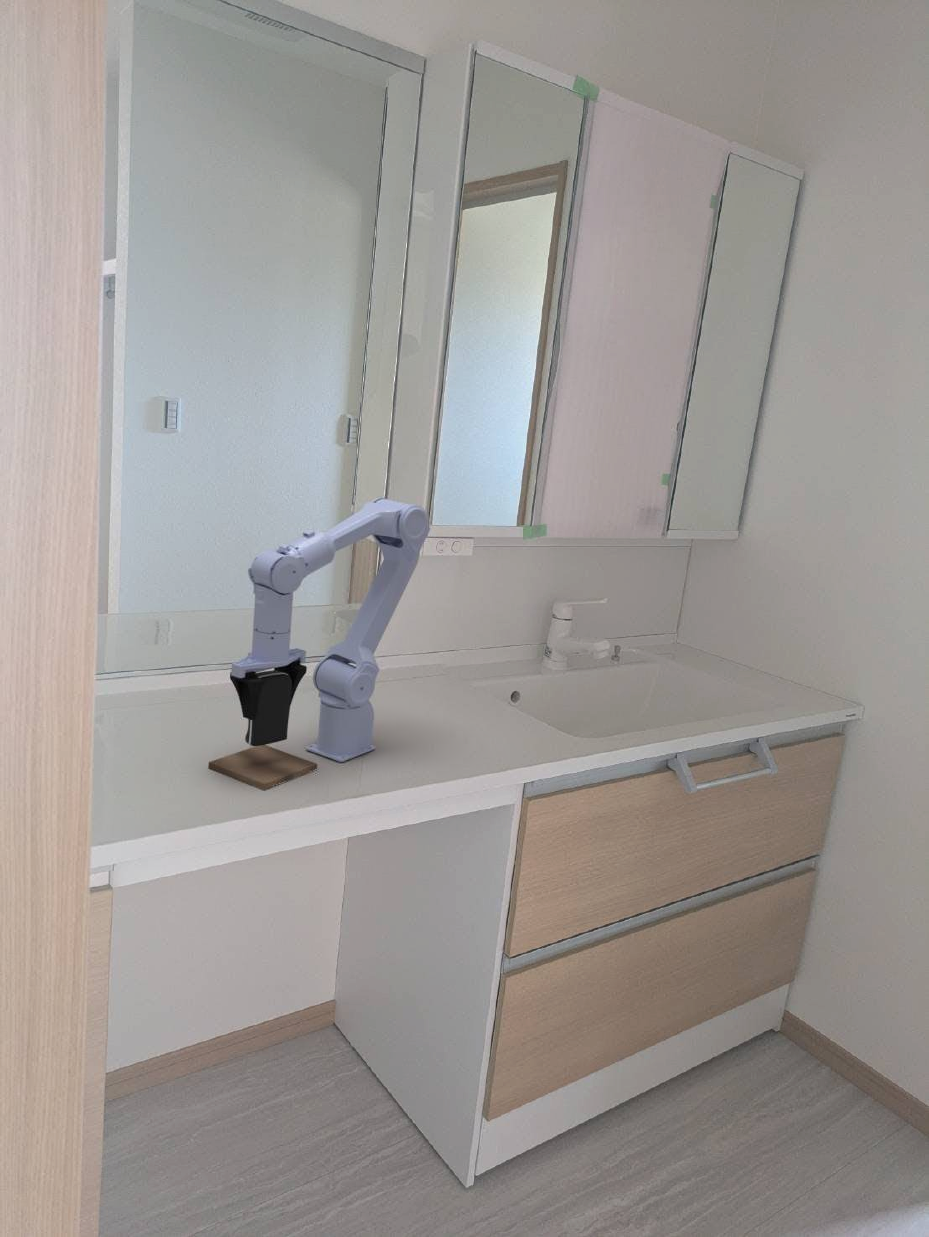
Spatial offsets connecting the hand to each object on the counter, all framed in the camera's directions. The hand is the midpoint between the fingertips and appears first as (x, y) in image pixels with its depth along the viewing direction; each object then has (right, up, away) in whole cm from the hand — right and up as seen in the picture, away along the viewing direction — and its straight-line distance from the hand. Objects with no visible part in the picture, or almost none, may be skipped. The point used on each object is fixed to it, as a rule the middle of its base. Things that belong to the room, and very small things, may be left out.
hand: (266, 712), depth 156 cm
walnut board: (-1, -9, +2) cm, 9 cm away
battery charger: (-1, -5, +1) cm, 5 cm away
